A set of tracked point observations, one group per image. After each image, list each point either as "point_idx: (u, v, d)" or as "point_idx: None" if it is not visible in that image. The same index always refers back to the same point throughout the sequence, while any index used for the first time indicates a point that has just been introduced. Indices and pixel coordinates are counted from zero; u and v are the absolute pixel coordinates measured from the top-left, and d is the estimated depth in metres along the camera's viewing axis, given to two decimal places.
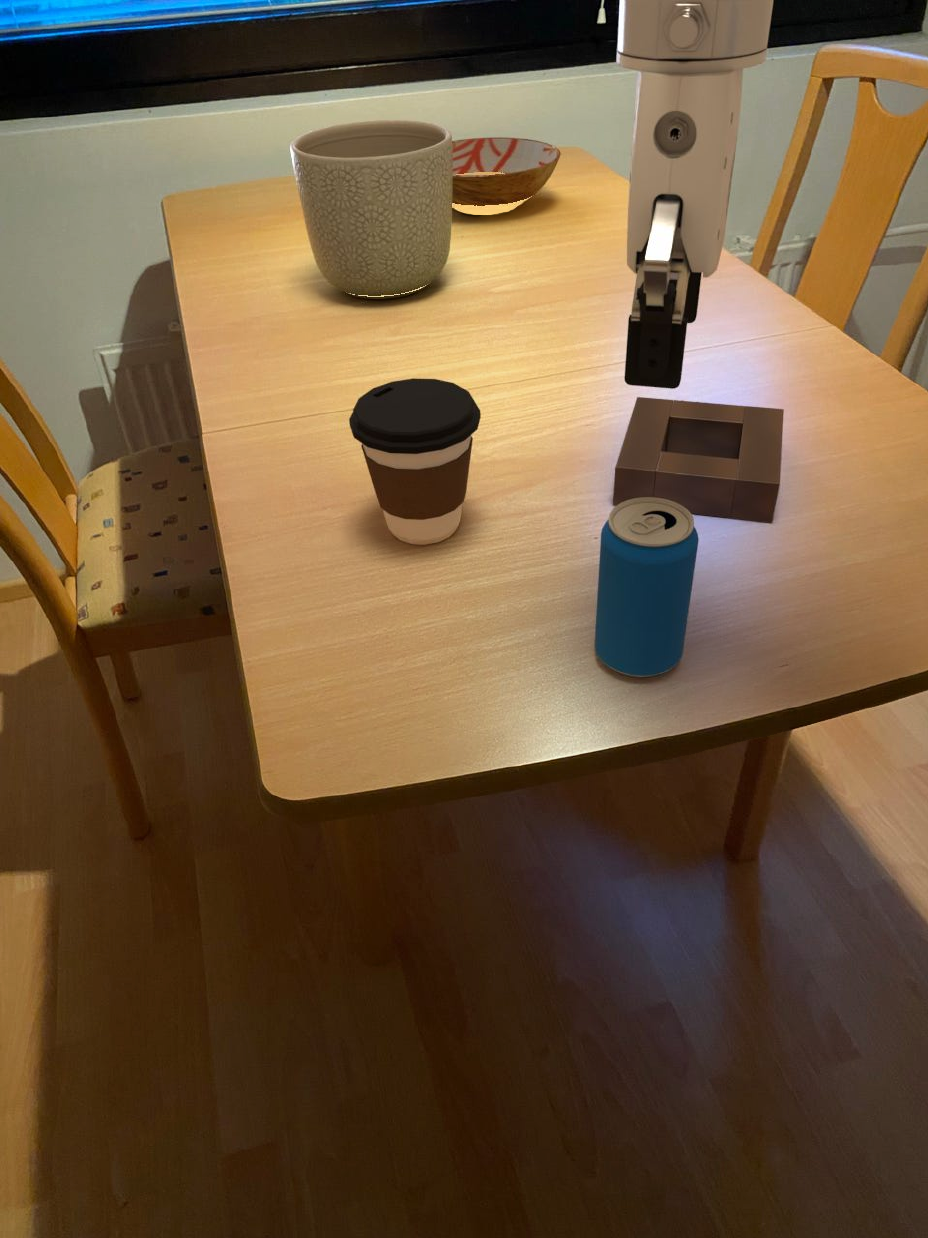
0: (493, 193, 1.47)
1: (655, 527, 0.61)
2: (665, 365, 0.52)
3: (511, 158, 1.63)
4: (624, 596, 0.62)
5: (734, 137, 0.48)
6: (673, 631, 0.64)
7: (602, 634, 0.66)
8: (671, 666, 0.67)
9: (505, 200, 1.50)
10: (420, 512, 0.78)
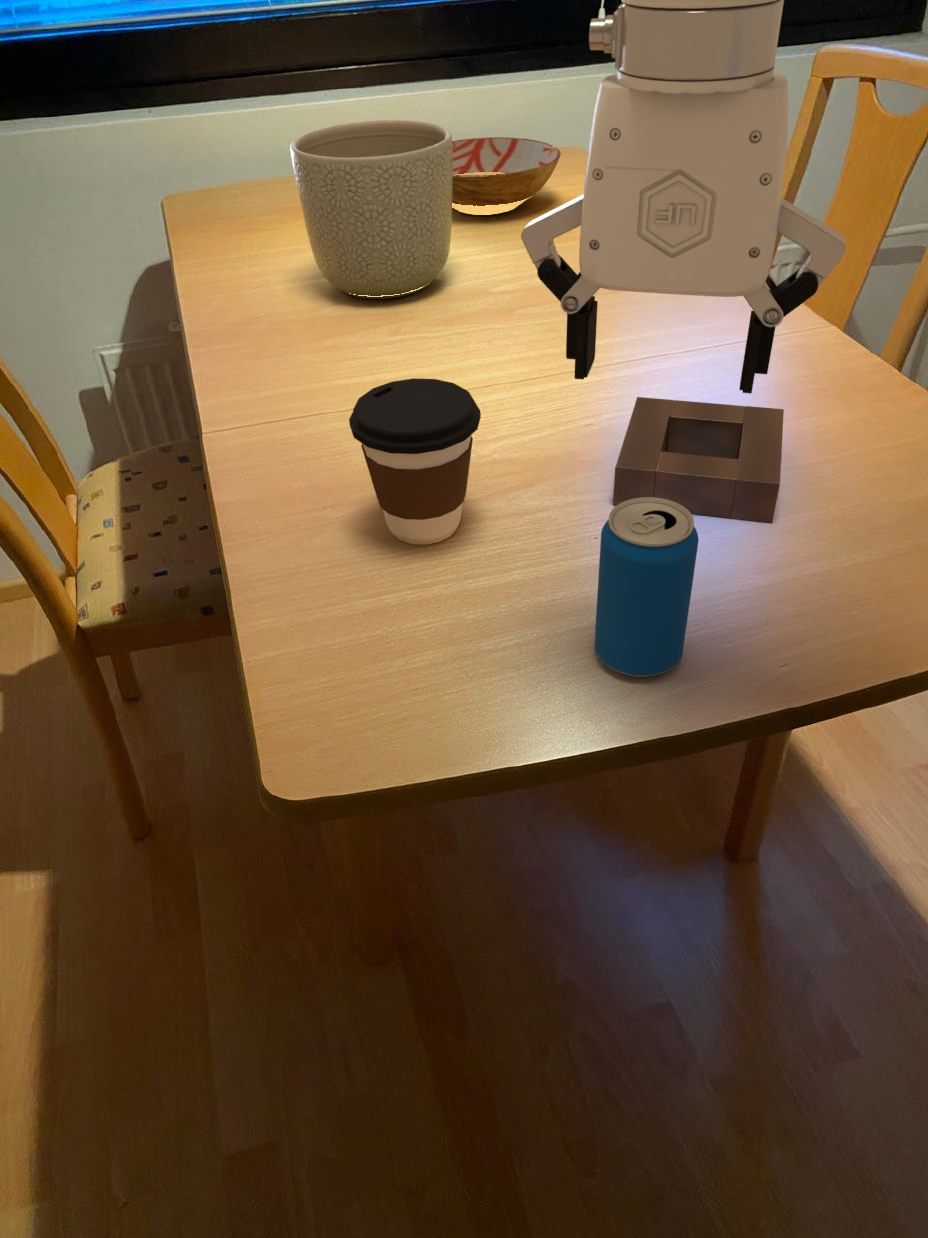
0: (493, 193, 1.47)
1: (655, 527, 0.61)
2: (566, 347, 0.56)
3: (511, 158, 1.63)
4: (624, 596, 0.62)
5: (642, 162, 0.46)
6: (673, 631, 0.64)
7: (602, 634, 0.66)
8: (671, 666, 0.67)
9: (505, 200, 1.50)
10: (420, 512, 0.78)
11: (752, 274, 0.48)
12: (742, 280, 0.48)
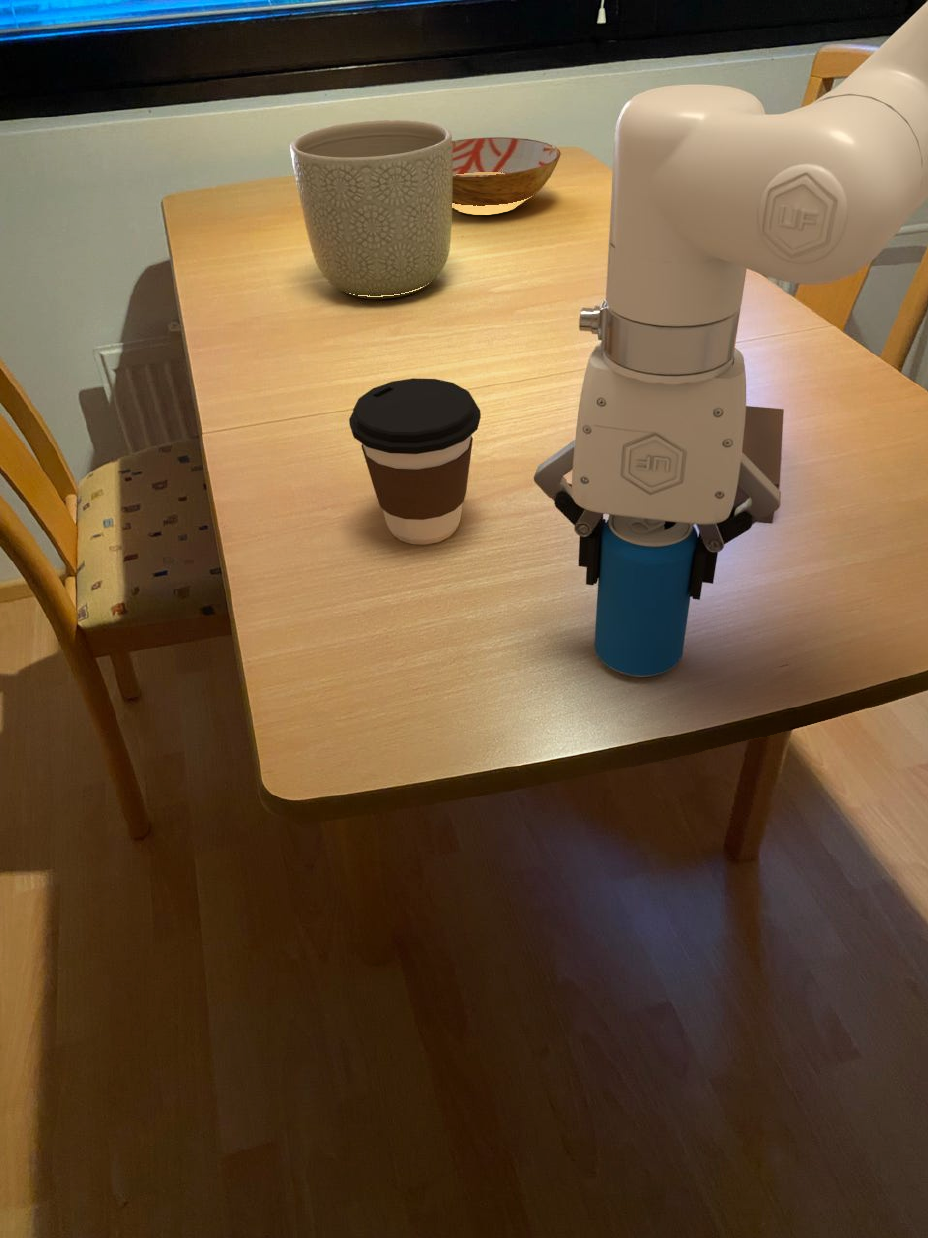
0: (493, 193, 1.47)
1: (655, 527, 0.61)
2: None
3: (511, 158, 1.63)
4: (624, 596, 0.62)
5: (624, 424, 0.55)
6: (673, 631, 0.64)
7: (602, 634, 0.66)
8: (671, 666, 0.67)
9: (505, 200, 1.50)
10: (420, 512, 0.78)
11: (718, 510, 0.57)
12: (710, 514, 0.57)
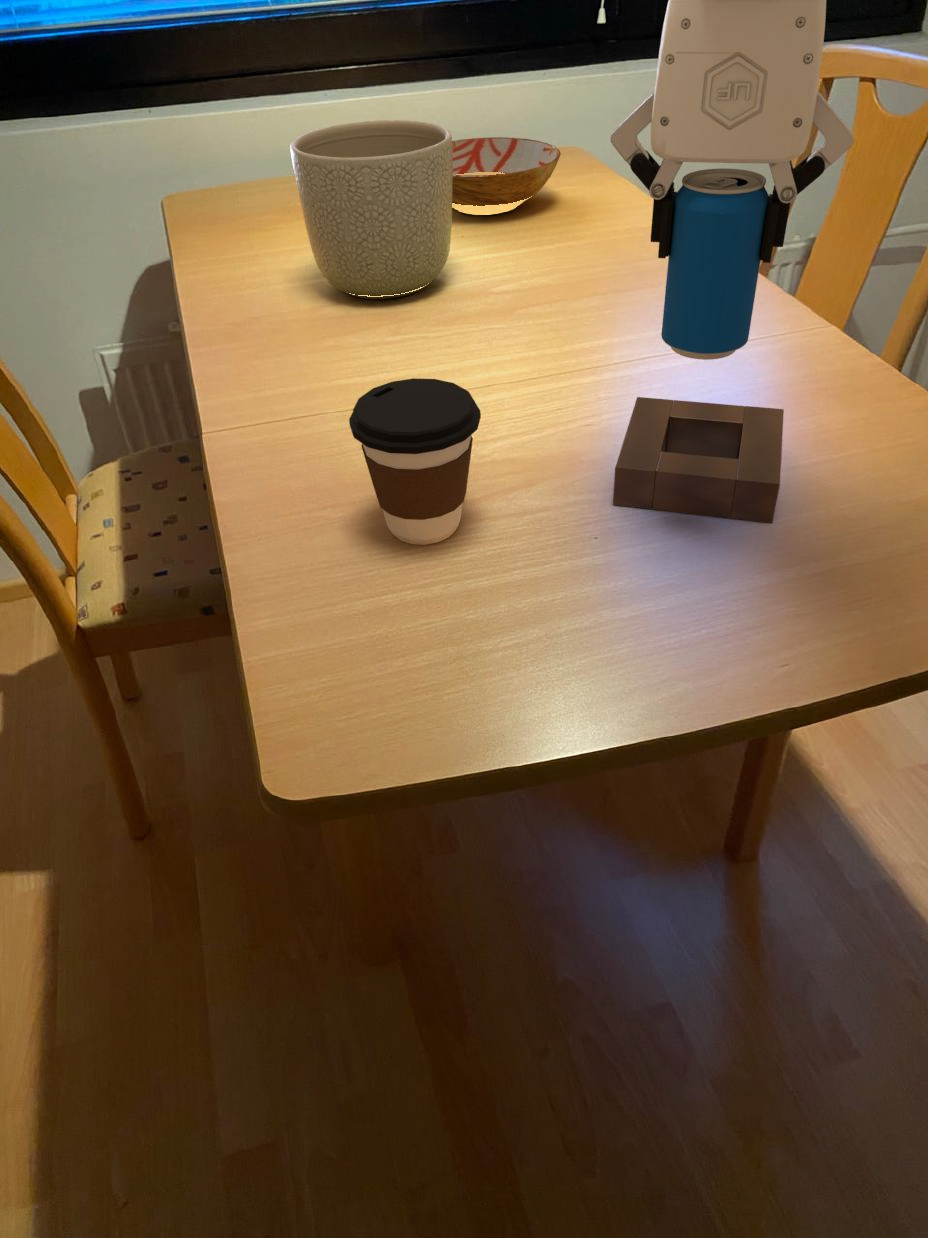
0: (493, 193, 1.47)
1: (728, 184, 0.63)
2: (651, 231, 0.67)
3: (511, 158, 1.63)
4: (697, 257, 0.65)
5: (707, 46, 0.57)
6: (742, 300, 0.66)
7: (672, 313, 0.68)
8: (739, 345, 0.69)
9: (505, 200, 1.50)
10: (420, 512, 0.78)
11: (795, 141, 0.59)
12: (787, 147, 0.59)
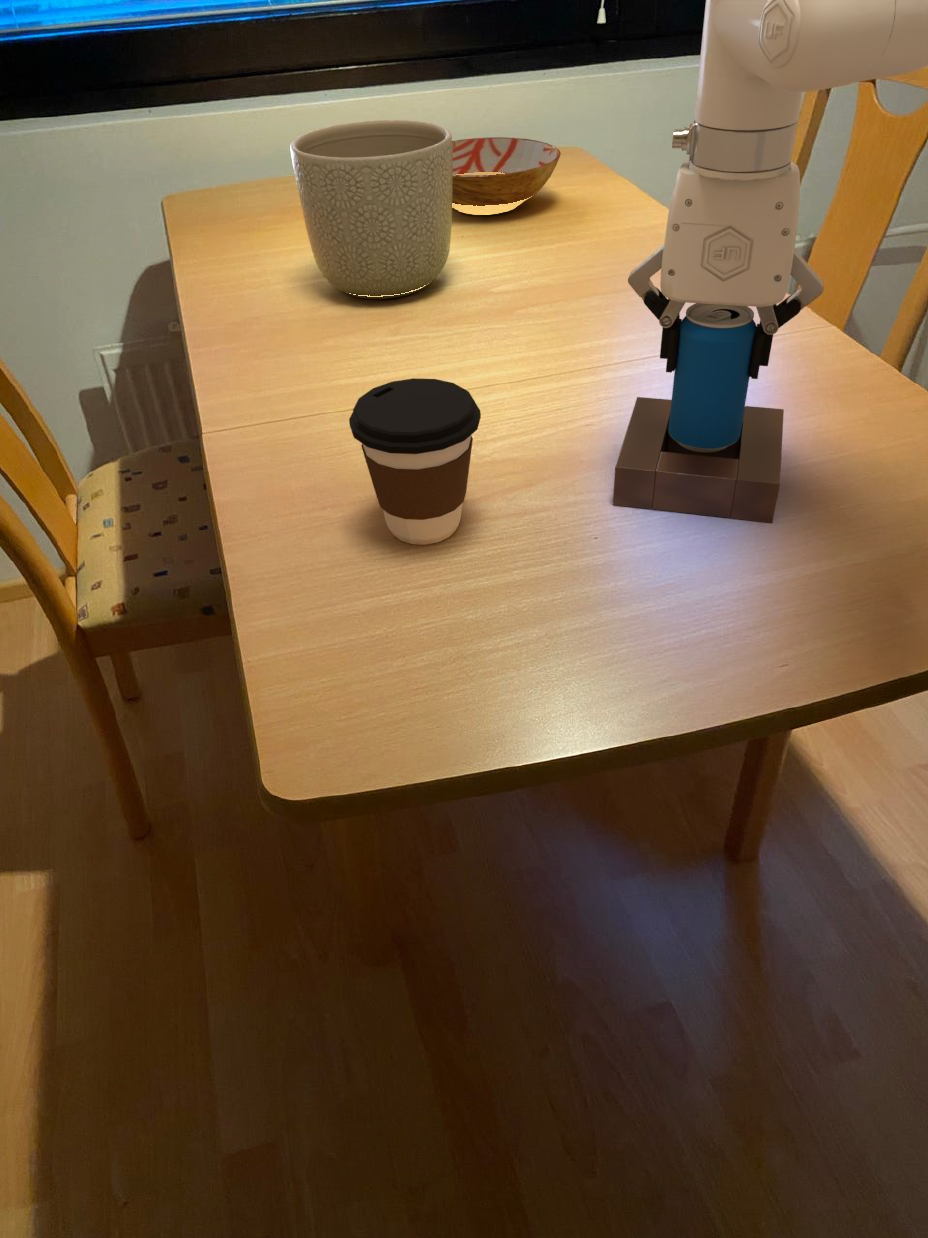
0: (493, 193, 1.47)
1: (723, 317, 0.78)
2: (660, 350, 0.81)
3: (511, 158, 1.63)
4: (698, 375, 0.79)
5: (706, 220, 0.72)
6: (735, 407, 0.81)
7: (677, 415, 0.83)
8: (732, 441, 0.84)
9: (505, 200, 1.50)
10: (420, 512, 0.78)
11: (776, 292, 0.74)
12: (769, 295, 0.74)
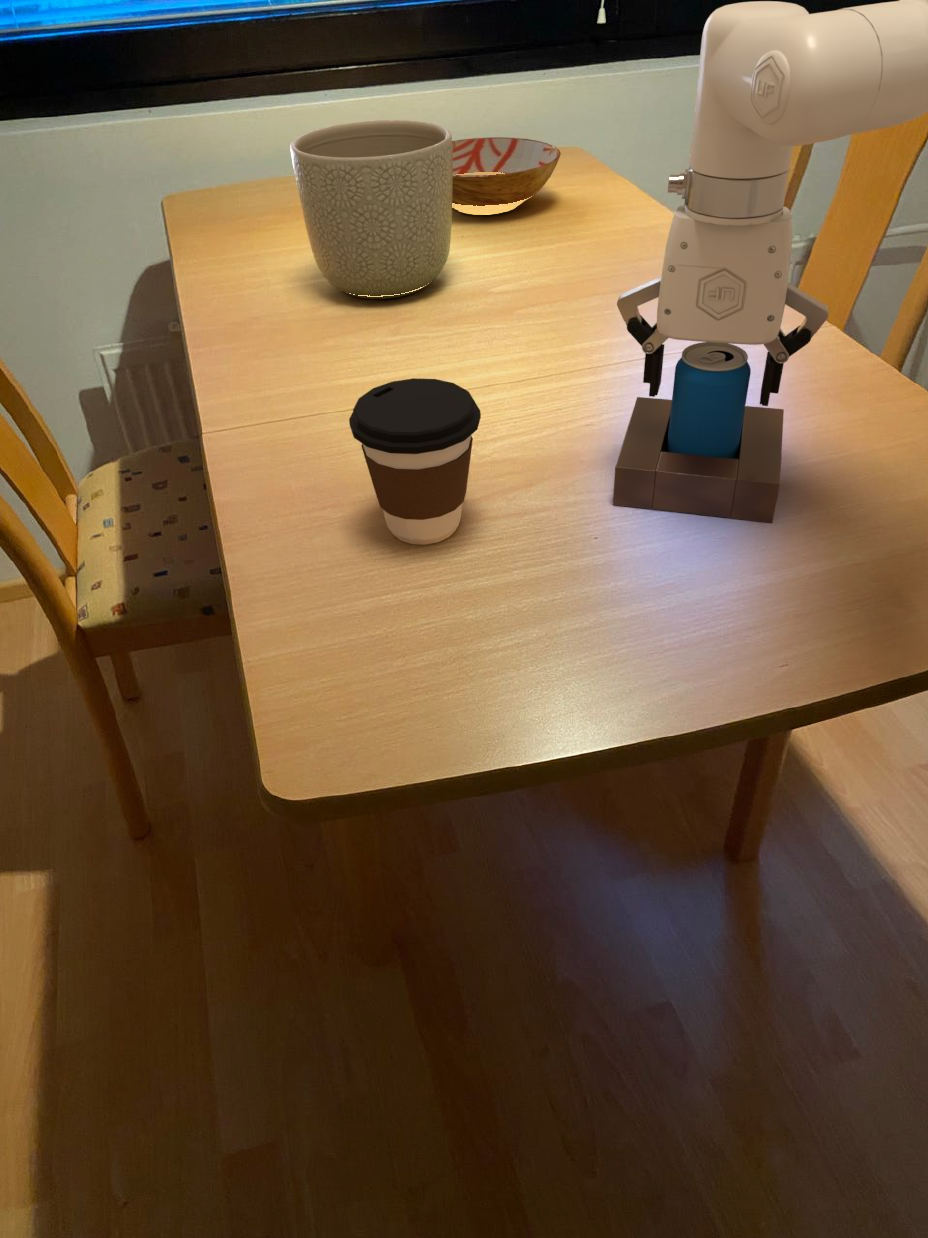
0: (493, 193, 1.47)
1: (718, 359, 0.81)
2: None
3: (511, 158, 1.63)
4: (693, 415, 0.82)
5: (700, 262, 0.74)
6: (729, 445, 0.84)
7: (673, 452, 0.86)
8: None
9: (505, 200, 1.50)
10: (420, 512, 0.78)
11: (769, 331, 0.76)
12: (763, 334, 0.76)
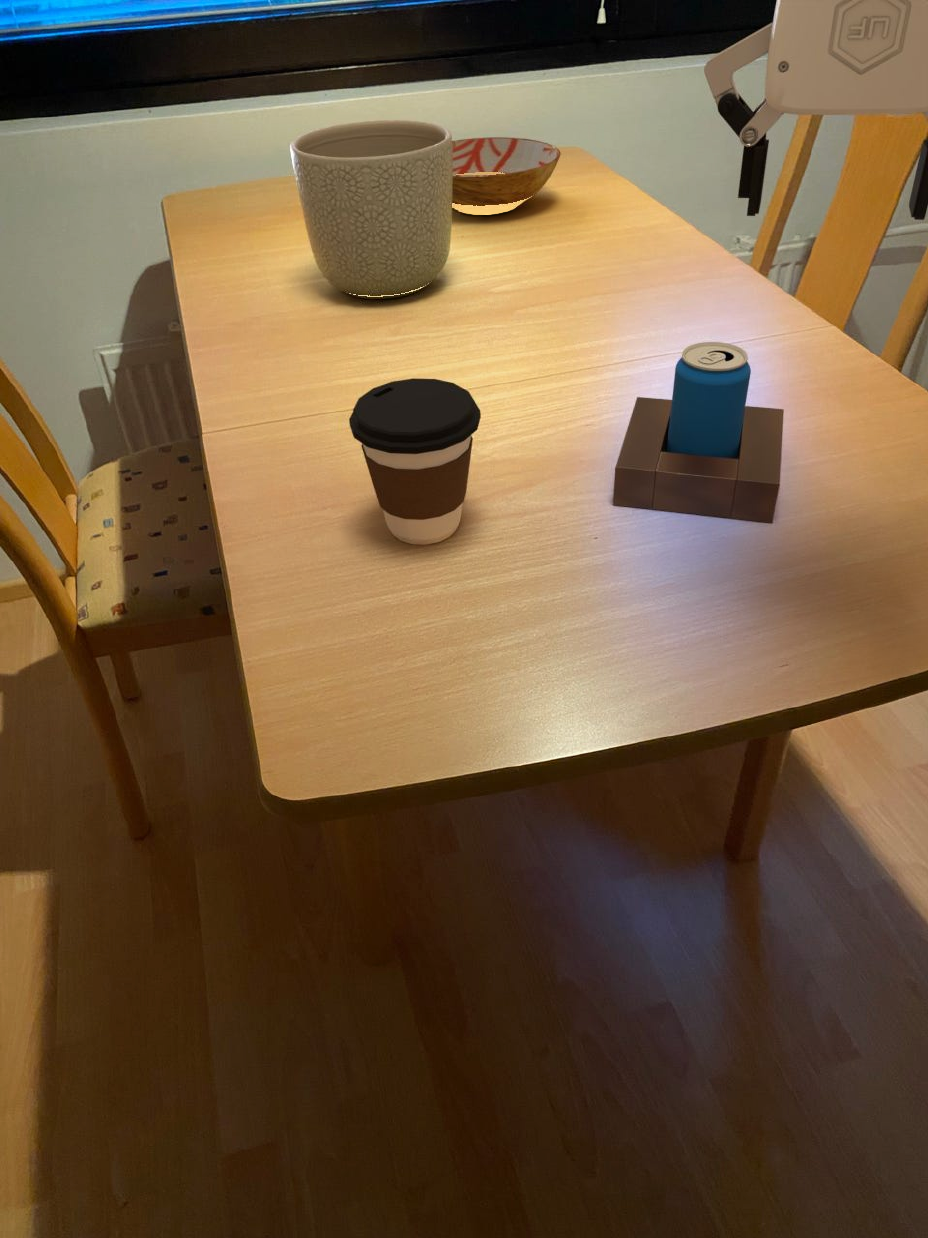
0: (493, 193, 1.47)
1: (718, 359, 0.81)
2: (739, 184, 0.58)
3: (511, 158, 1.63)
4: (693, 415, 0.82)
5: None
6: (729, 445, 0.84)
7: (673, 452, 0.86)
8: None
9: (505, 200, 1.50)
10: (420, 512, 0.78)
11: None
12: None
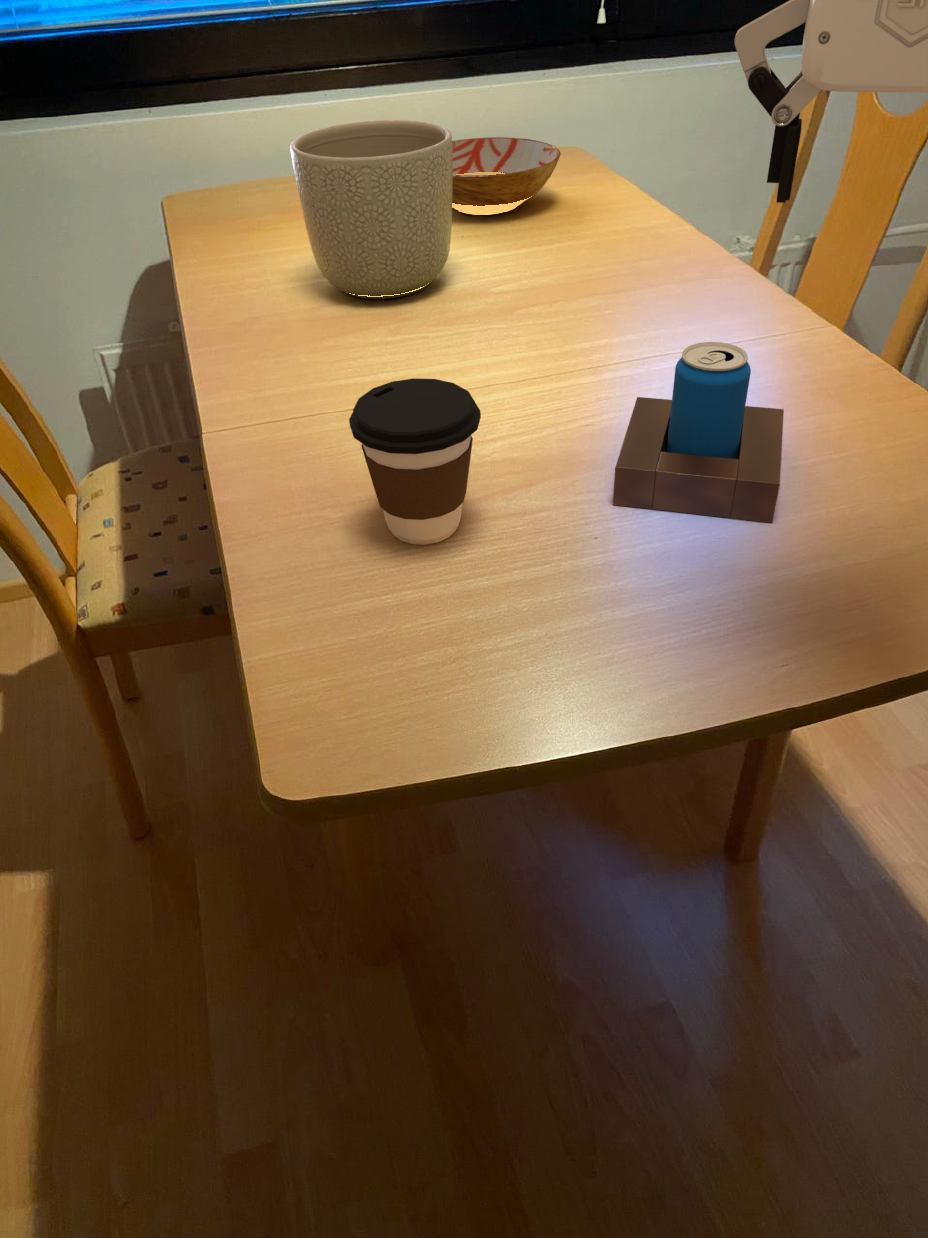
0: (493, 193, 1.47)
1: (718, 359, 0.81)
2: None
3: (511, 158, 1.63)
4: (693, 415, 0.82)
5: None
6: (729, 445, 0.84)
7: (673, 452, 0.86)
8: None
9: (505, 200, 1.50)
10: (420, 512, 0.78)
11: None
12: None
